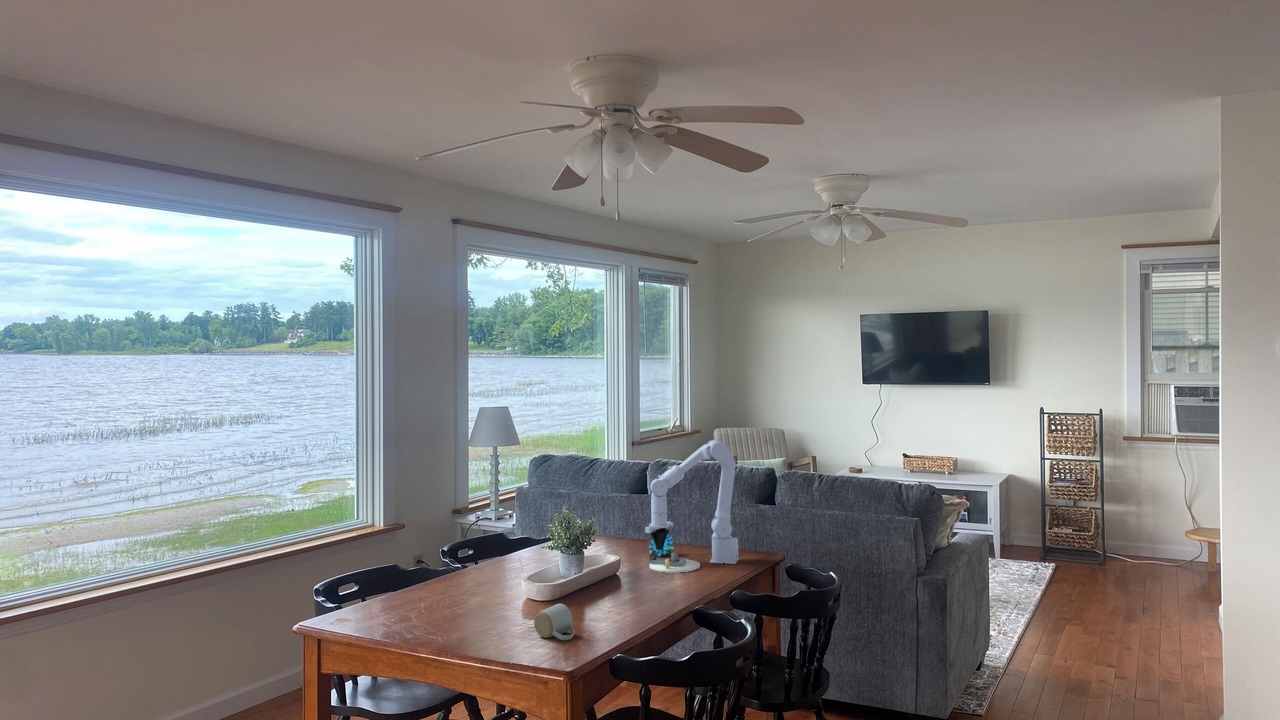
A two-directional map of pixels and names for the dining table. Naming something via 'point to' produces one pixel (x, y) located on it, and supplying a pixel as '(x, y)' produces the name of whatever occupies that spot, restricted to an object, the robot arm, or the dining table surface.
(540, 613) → the ceramic mug
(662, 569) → the base plate
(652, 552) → the crank handle
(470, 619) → the dining table surface
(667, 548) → the gear
